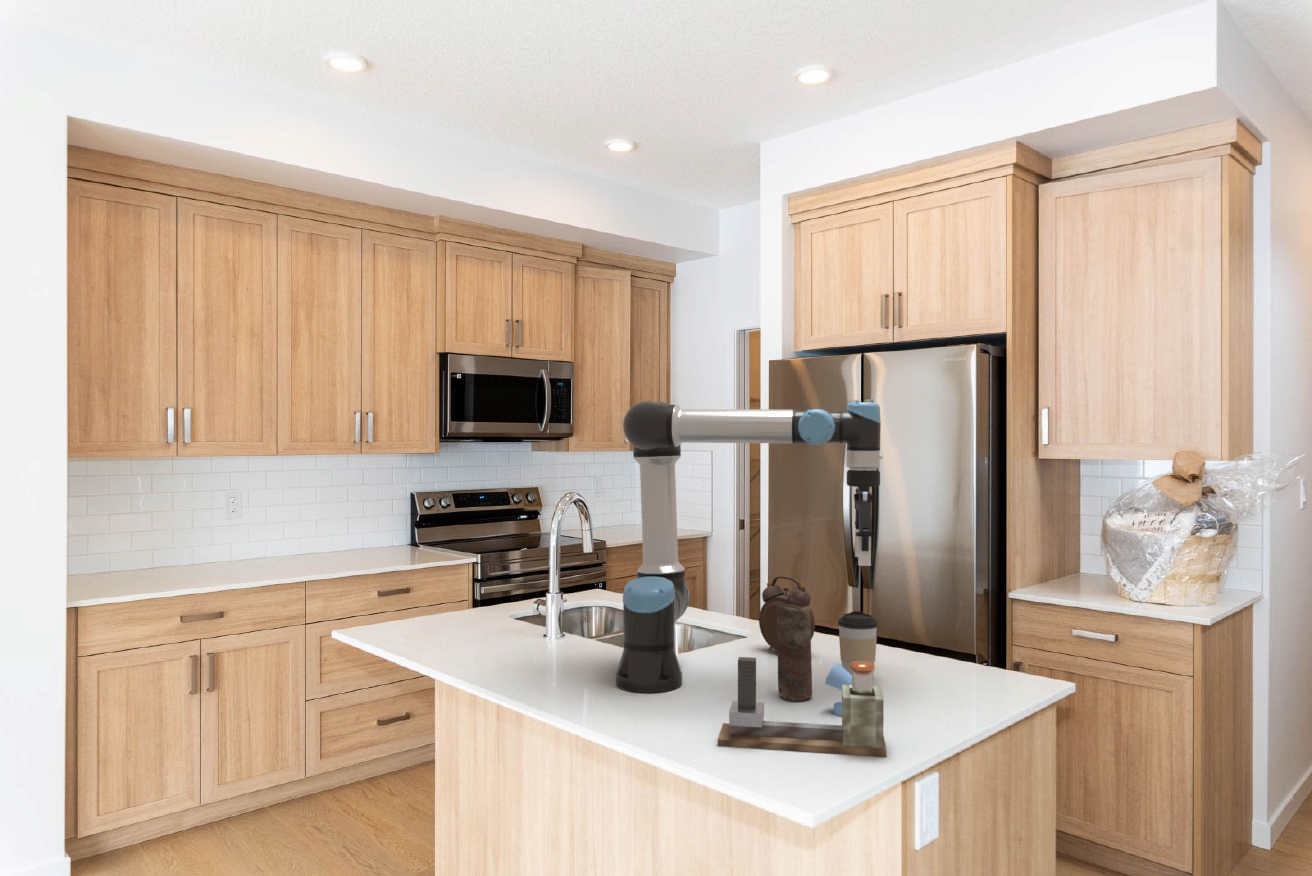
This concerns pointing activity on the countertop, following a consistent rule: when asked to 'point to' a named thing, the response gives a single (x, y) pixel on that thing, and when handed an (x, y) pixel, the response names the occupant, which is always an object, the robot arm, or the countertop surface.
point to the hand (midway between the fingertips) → (862, 561)
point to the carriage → (746, 697)
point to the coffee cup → (857, 638)
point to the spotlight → (838, 683)
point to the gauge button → (862, 677)
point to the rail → (792, 744)
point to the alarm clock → (769, 610)
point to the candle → (794, 652)
